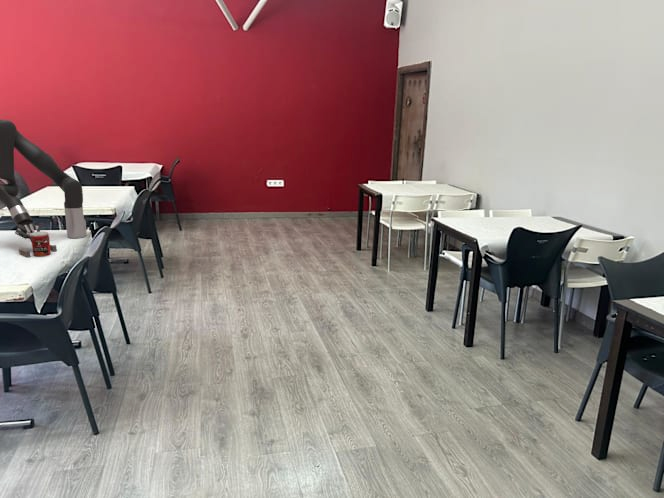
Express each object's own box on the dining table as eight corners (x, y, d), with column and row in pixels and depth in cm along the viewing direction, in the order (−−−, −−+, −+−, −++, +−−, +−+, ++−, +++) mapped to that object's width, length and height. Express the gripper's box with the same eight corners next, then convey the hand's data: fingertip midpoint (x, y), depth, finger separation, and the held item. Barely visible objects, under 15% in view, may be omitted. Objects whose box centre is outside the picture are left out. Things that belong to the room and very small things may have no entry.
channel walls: (48, 248, 262) (47, 243, 261) (54, 250, 259) (54, 246, 258) (19, 254, 250) (18, 249, 250) (25, 256, 247) (25, 251, 247)
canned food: (31, 257, 247) (28, 235, 244) (35, 252, 254) (32, 231, 251) (49, 256, 250) (46, 234, 247) (52, 251, 257) (49, 231, 254)
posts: (55, 250, 259) (54, 244, 258) (56, 251, 258) (56, 245, 258) (25, 256, 247) (24, 251, 246) (26, 257, 246) (26, 251, 245)
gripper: (8, 213, 248) (24, 242, 245) (36, 210, 259) (51, 237, 256) (4, 222, 253) (20, 250, 250) (32, 218, 263) (47, 245, 260)
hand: (36, 243), depth 253 cm, fingers closed
